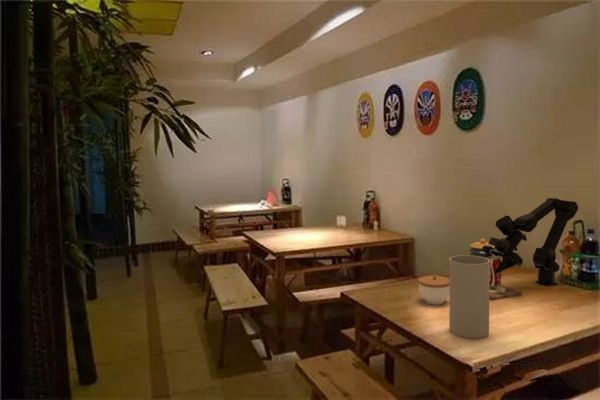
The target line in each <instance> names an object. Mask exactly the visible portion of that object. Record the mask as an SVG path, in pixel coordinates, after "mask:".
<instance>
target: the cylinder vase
mask: <svg viewBox="0 0 600 400" xmlns="http://www.w3.org/2000/svg"><path fill="white" fill-rule="evenodd" d="M448 267H449V270H448V271H449V275H448V276H449V278H448V279H449V297H448V298H449V299H448V300H449V303H448V304H449V306H448V307H449V319H448V320H449V323H448V324H449V330H450V332H451V333H452V334H453V335H455V336H457V337H459V338H464V339H469V340H470V339H471V340H472V339H473V340H474V339H475V340H478V339H483V338H486V337H487V336H488V335H489V334H490V300H489V277H490V260H489V259H487V258H484V257H480V256H471V255H470V254H468V255H467V254H466V255H465V254H464V255H463V254H461V255H454V256H450V257H449V265H448Z"/></svg>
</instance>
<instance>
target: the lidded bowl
mask: <svg viewBox="0 0 600 400" xmlns="http://www.w3.org/2000/svg"><path fill="white" fill-rule="evenodd" d="M417 282H418V289H419V294H420V296H421V298H422V299H423V300H424V301H425V303H427V304H428V305H436V306H437V305H443V304H444V303H445V302H446V301H447V299H448V298H449V278H448V277H445V276H439V275H436V274H432V275H424V276H422V277H419V278H418V281H417Z"/></svg>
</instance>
